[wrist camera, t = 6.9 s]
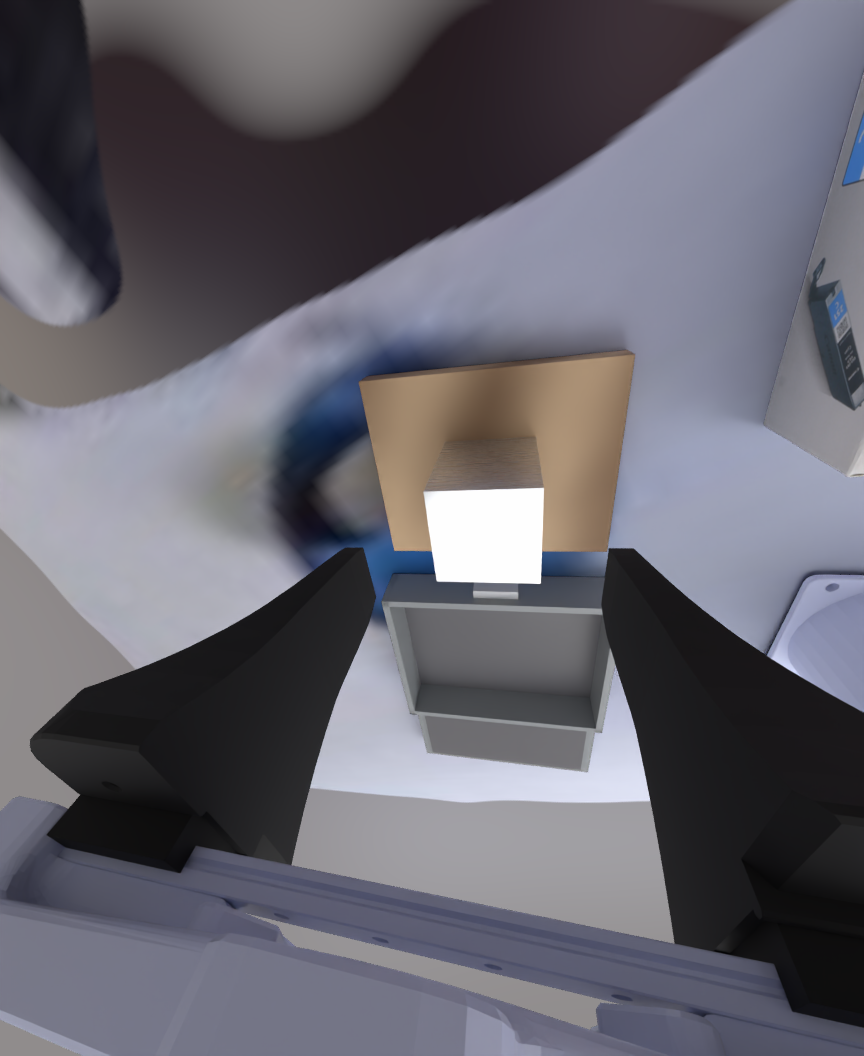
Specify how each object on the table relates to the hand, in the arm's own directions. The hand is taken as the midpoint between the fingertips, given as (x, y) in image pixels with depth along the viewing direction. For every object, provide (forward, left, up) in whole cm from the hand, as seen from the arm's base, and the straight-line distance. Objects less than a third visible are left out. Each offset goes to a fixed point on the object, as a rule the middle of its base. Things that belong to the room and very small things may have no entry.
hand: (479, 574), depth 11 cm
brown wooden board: (0, 0, -9) cm, 9 cm away
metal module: (0, 0, -8) cm, 8 cm away
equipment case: (0, +16, -9) cm, 18 cm away
